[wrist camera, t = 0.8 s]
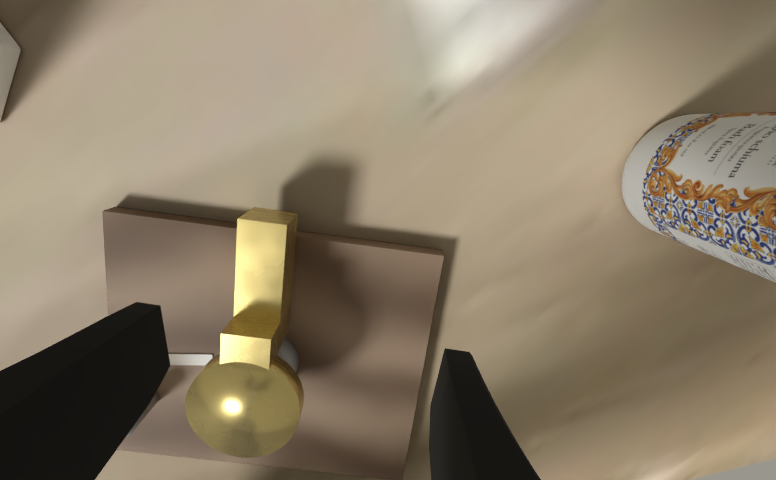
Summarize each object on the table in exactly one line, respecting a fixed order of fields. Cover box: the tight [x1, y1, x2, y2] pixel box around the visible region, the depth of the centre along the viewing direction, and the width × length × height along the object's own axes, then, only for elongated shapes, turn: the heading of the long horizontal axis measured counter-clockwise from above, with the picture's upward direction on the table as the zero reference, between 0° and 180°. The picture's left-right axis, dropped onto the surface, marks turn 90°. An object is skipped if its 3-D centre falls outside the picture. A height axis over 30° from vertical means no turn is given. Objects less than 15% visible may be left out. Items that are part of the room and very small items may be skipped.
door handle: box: [185, 207, 304, 458], centre depth 23 cm, size 13×6×5 cm, turn 172°
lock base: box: [102, 207, 444, 480], centre depth 26 cm, size 17×20×4 cm
